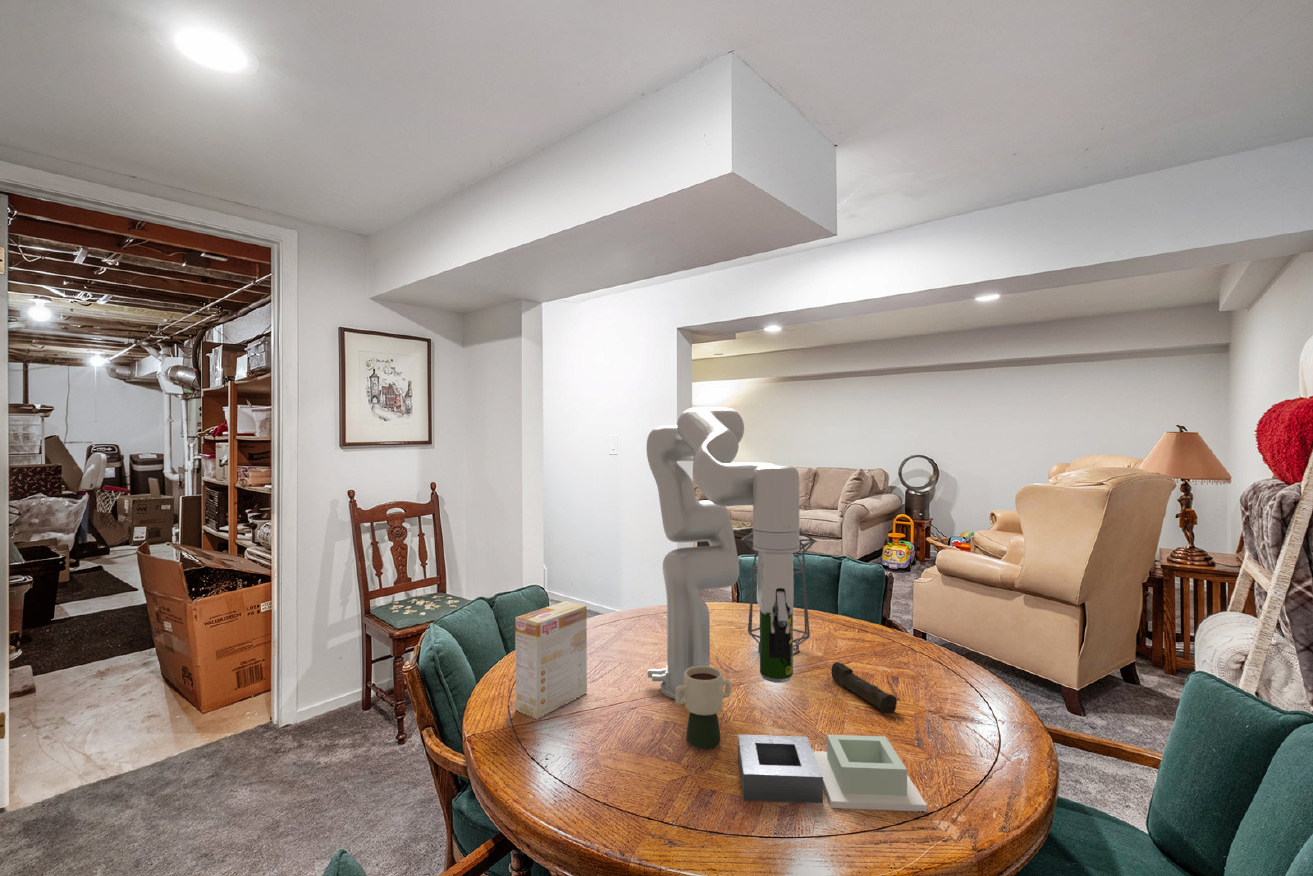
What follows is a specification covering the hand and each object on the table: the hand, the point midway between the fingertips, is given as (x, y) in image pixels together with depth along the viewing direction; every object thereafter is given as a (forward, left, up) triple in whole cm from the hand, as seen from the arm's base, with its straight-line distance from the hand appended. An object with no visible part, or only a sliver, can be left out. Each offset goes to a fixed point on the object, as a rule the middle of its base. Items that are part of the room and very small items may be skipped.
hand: (776, 649), depth 93 cm
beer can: (0, 0, -5) cm, 5 cm away
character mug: (-12, +10, -21) cm, 26 cm away
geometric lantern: (+9, +59, -21) cm, 63 cm away
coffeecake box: (-44, +25, -21) cm, 55 cm away
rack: (+14, 0, -21) cm, 25 cm away
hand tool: (+22, +32, -22) cm, 45 cm away
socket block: (0, 0, -21) cm, 21 cm away
